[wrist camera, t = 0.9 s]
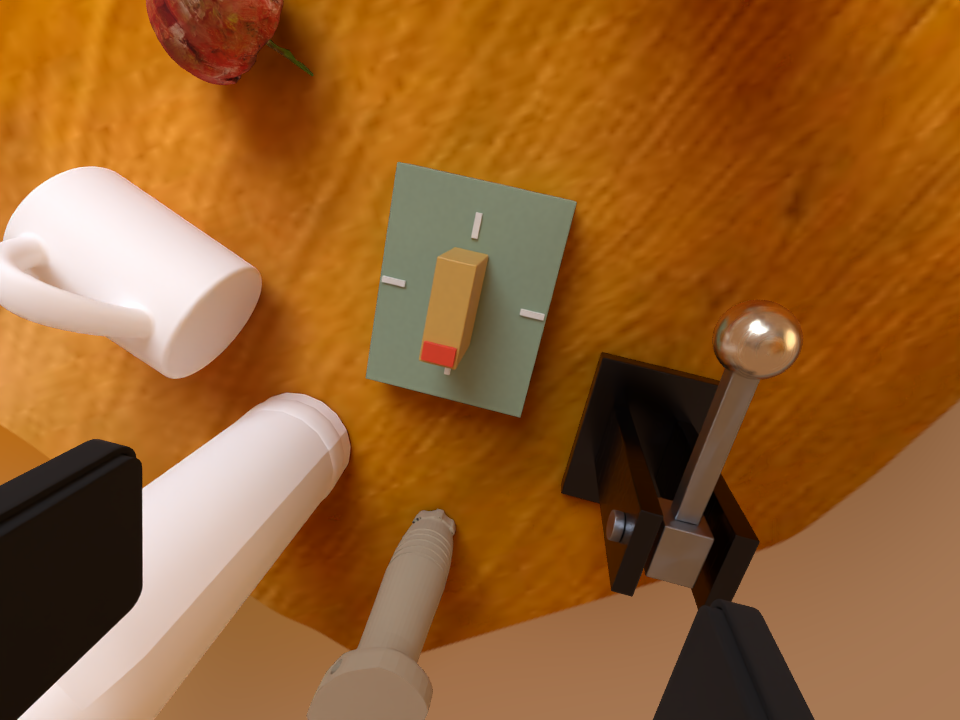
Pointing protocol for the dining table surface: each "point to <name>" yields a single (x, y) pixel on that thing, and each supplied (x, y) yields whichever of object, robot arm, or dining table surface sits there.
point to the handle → (393, 634)
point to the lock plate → (505, 291)
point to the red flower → (217, 35)
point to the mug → (124, 271)
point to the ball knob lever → (721, 430)
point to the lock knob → (452, 306)
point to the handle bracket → (651, 471)
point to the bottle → (205, 554)
